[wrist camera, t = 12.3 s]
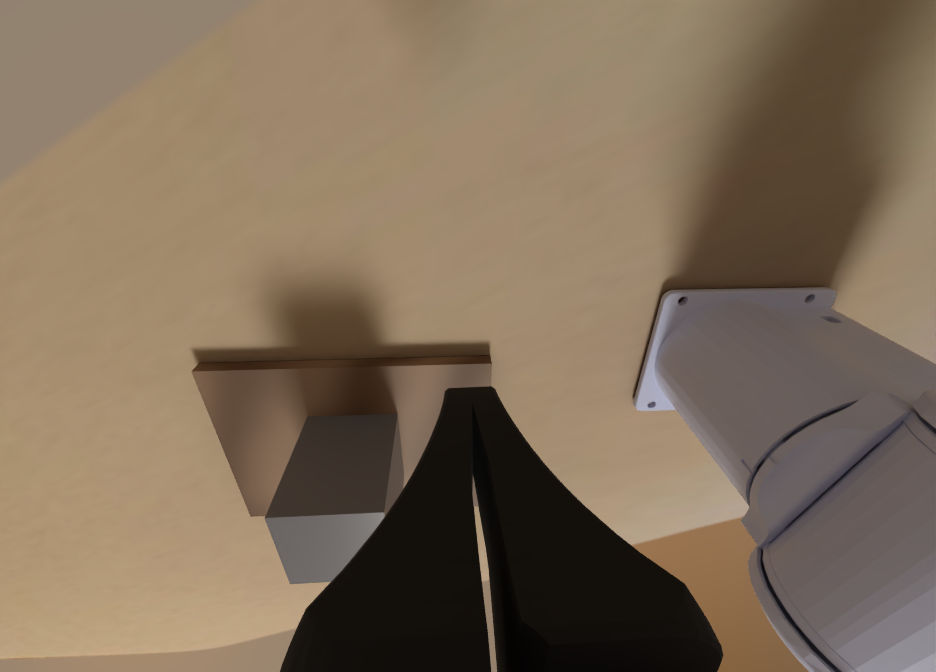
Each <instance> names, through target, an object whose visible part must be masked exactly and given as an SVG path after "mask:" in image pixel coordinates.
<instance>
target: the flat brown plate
mask: <svg viewBox="0 0 936 672" xmlns="http://www.w3.org/2000/svg"><path fill="white" fill-rule="evenodd" d="M491 368H492V363H491V357H490V356H459V357H420V358H380V359H341V360H302V361H263V362H223V363H199V364H198V365H197V366H196V367H195V368H194V369H193V370H192V374H193V377H194V379H195V381H196V384H197V386H198V389H199V391H200V394H201V396H202V399H203V401H204V403H205V406H206V408H207V411H208V413H209V416H210V418H211V421H212V423H213V425H214V428H215V430H216V433H217V435H218V438H219V440H220V443H221V445H222V448H223V450H224V452H225V455H226V457H227V460H228V462H229V465H230V467H231V470H232V472H233V474H234V477H235V479H236V482H237V484H238V487H239V489H240V492H241V494H242V496H243V499H244V501H245V504H246V506H247V509H248V511H249V514H250V516H251V517H252V516H266V514H267V511H268V509H269V507H270V504H271V502H272V499H273V497H274V495H275V492H276V490H277V488H278V485H279V483H280V480H281V478H282V476H283V473H284V471H285V469H286V466H287V464H288V461H289V459H290V457H291V454H292V452H293V450H294V447H295V445H296V442H297V440H298V438H299V435H300V433H301V431H302V428H303V426H304V423H305V421H306V419H307V417H315V416H344V415H372V414H398V421H399V430H400V439H401V449H402V458H403V467H404V484H403V489H404V487H405V485H406V484H407V482H408V480H409V479H410V477H411V475H412V473H413V472H414V470H415V468H416V466H417V464H418V462H419V460H420V458H421V456H422V454H423V452H424V450H425V448H426V446H427V444H428V442H429V440H430V437H431V435H432V432H433V430H434V427H435V425H436V422H437V420H438V417H439V414H440V411H441V408H442V404H443V399H444V392H445V391H446V390H447V389H448V388H463V387H485V386H491ZM472 494H473V505H474V506H478V500H477V495H476V489H475V483H474V477H473V492H472Z"/></svg>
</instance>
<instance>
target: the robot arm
mask: <svg viewBox="0 0 936 672" xmlns="http://www.w3.org/2000/svg"><path fill="white" fill-rule="evenodd" d="M808 295H809V296H808ZM807 296H808V297H807ZM836 296H837V293H836V291H835V290H833V289H831V288H828V287H812V288H753V289H695V290H670V291H668V292H666V293H665V294H664V295H663V296H662V298H661V302H660V306H659V309H658V313H657V317H656V320H655V324H654V328H653V332H652V335H651V339H650V343H649V346H648V350H647V354H646V357H645V361H644V365H643V368H642V372H641V376H640V379H639V383H638V387H637V391H636V394H635V398H634V402H633V404H634V406H635V408H636V409H637V410H639V411H655V410H677V412H678V413H679V414H680V416H681V417H682V418H683V420H684V421H685V422H686V424H687V425H688V426H689V428H690V429H691V430H692V431H693V433H694V434H695V435H696V437H697V438H698V439H699V441H700V442H701V443H702V445H703V446H704V447H705V449H706V450H707V451H708V453H709V454H710V455H711V457H712V458H713V459H714V460H715V462H716V463H717V464H718V466H719V467H720V468H721V470H722V471H723V472H724V474H725V475H726V476H727V478H728V479H729V480H730V482H731V483H732V484H733V486H734V487H735V488H736V489H737V491H738V492H739V493H740V495H741V496H742V497H743V499H744V500H745V501H746V503H747V504H748V505H749V510H748V511H747V513H746V514H745V516H744V517H743V518H742V519H741V522H742V524H743V525H744V527H745V528H746V529H747V531H748V532H749V534H750V535H751V536H752V538H753V539H754V540H755V542H756V543H757V545H758V546H756V547H755V548H754V550H753V551H752V552H751V554H750V558H749V561H748V566H749V575H750V579H751V583H752V586H753V588H754V591H755V593H756V596H757V598H758V600H759V602H760V604H761V606H762V608H763V610H764V612H765V614H766V616H767V618H768V620H769V621H770V623H771V625H772V626H773V628H774V629H775V631H776V632H777V634H778V635H779V637H780V638H781V639H782V641H783V642H784V643H785V645H786V646H787V647H788V648H789V649H790V651H791V652H792V653H793V654H794V655H795V657H796V658H797V659H798V660H799V661H800V662H801V663H802V665H803V666H804V667H805V668H806V669H807V670H808V671H809V672H936V364H934V363H932V362H931V361H929V360H927V359H925V358H923V357H921V356H920V355H918V354H916V353H914V352H912V351H910V350H908V349H906V348H905V347H903V346H901V345H899V344H897V343H895V342H893V341H891V340H890V339H888V338H886V337H884V336H882V335H880V334H878V333H876V332H875V331H873V330H871V329H869V328H867V327H865V326H863V325H861V324H860V323H858V322H856V321H854V320H852V319H850V318H848V317H846V316H845V315H843V314H841V313H839V312H837V311H835V310H833V309H832V308H831V307H832V305H833V303H834V301H835V299H836ZM681 297H684V299H683V300H682V301H681V302H678V300H679V299H680V298H681ZM806 297H807V298H806ZM805 298H806V299H805ZM650 402H652V403H650ZM648 403H650V404H648ZM473 477H474V483H475V489H476V495H477V500H478V506H479V512H480V517H481V523H482V529H483V534H484V540H485V546H486V552H487V560H488V567H489V579H490V590H491V602H492V613H493V624H494V636H495V649H496V661H497V672H717V670H718V669H719V666H720V663H721V661H722V658H723V652H722V647H721V645H720V643H719V641H718V639H717V637H716V635H715V633H714V631H713V629H712V627H711V625H710V623H709V621H708V620H707V618H706V616H705V615H704V613H703V612H702V610H701V608H700V607H699V605H698V604H697V602H696V601H695V599H694V597H693V596H692V594H691V593H690V591H689V590H688V588H687V587H686V585H685V584H684V583H683V582H681V581H680V580H679V579H677V578H676V577H674V576H673V575H671V574H670V573H668V572H667V571H666V570H664V569H663V568H661V567H660V566H658V565H657V564H656V563H654V562H653V561H651V560H650V559H649V558H647V557H646V556H644V555H643V554H641V553H640V552H639V551H637V550H636V549H635V548H634V547H632V546H631V545H630V544H629V543H627V542H626V541H625V540H624V539H622V538H621V537H620V536H618V535H617V534H616V533H615V532H614V531H613V530H611V529H610V528H609V527H608V526H607V525H606V524H605V523H603V522H602V521H601V520H600V519H599V518H598V517H597V516H595V515H594V514H593V513H592V512H591V511H590V510H589V509H588V508H586V507H585V506H584V505H583V504H582V503H581V502H580V501H579V500H578V499H577V498H576V497H575V496H574V495H573V494H572V493H571V492H570V491H569V490H568V489H567V488H566V487H565V486H564V485H563V484H562V483H561V482H560V481H559V480H558V479H557V477H556V476H555V475H554V474H553V473H552V472H551V471H550V470H549V468H548V467H547V466H546V465H545V464H544V463H543V461H542V460H541V459H540V458H539V456H538V455H537V454H536V453H535V451H534V450H533V449H532V448H531V446H530V445H529V444H528V442H527V441H526V439H525V438H524V437H523V435H522V434H521V432H520V431H519V429H518V428H517V427H516V425H515V424H514V422H513V421H512V419H511V417H510V416H509V414H508V413H507V411H506V409H505V408H504V406H503V404H502V402H501V400H500V398H499V396H498V394H497V392H496V390H495V389H494V388H493V387H492V386H485V387H463V388H448V389H447V390H446V391H445V392H444V399H443V404H442V408H441V411H440V414H439V417H438V420H437V422H436V425H435V427H434V430H433V432H432V435H431V437H430V440H429V442H428V444H427V446H426V448H425V450H424V452H423V454H422V456H421V458H420V460H419V462H418V464H417V466H416V468H415V470H414V472H413V473H412V475H411V477H410V479H409V480H408V482H407V484H406V485H405V487H404V489H403V490H402V492H401V493H400V495H399V497H398V498H397V500H396V501H395V502H394V504H393V505H392V507H391V508H390V510H389V511H388V513H387V514H386V516H385V517H384V519H383V520H382V521H381V523H380V524H379V525H378V527H377V528H376V529H375V531H374V532H373V533H372V534H371V536H370V537H369V538H368V539H367V541H366V542H365V543H364V544H363V546H362V547H361V548H360V549H359V551H358V552H357V553H356V554H355V555H354V557H353V558H352V559H351V560H350V562H349V563H348V564H347V565H346V566H345V567H344V568H343V570H342V571H341V572H340V573H339V574H338V575H337V576H336V577H335V578H334V579H333V580H332V581H331V583H330V584H329V585H328V586H327V587H326V588H325V589H324V590H323V591H322V592H321V593H320V594H319V595H318V597H317V598H316V599H315V600H314V601H313V602H312V603H311V604H310V605H309V606H308V607H307V609H306V610H305V612H304V614H303V616H302V618H301V621H300V623H299V625H298V627H297V629H296V631H295V634H294V636H293V639H292V641H291V643H290V646H289V648H288V651H287V653H286V656H285V659H284V662H283V664H282V667H281V670H280V672H491V664H490V653H489V642H488V632H487V631H488V630H487V622H486V614H485V606H484V597H483V589H482V580H481V571H480V562H479V553H478V544H477V534H476V525H475V515H474V505H473V494H472V492H473Z"/></svg>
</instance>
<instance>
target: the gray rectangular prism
mask: <svg viewBox="0 0 936 672" xmlns="http://www.w3.org/2000/svg"><path fill="white" fill-rule="evenodd" d="M403 484H404V467H403V458H402V449H401V439H400V430H399V421H398V414H372V415H344V416H315V417H307V419H306V421H305V423H304V426H303V428H302V431H301V433H300V435H299V438H298V440H297V442H296V445H295V447H294V450H293V452H292V454H291V457H290V459H289V461H288V464H287V466H286V469H285V471H284V473H283V476H282V478H281V480H280V483H279V485H278V488H277V490H276V492H275V495H274V497H273V499H272V502H271V504H270V507H269V509H268V511H267V514H266V516H265V520H266V523H267V526H268V528H269V531H270V533H271V536H272V538H273V541H274V544H275V546H276V549H277V551H278V554H279V556H280V559H281V562H282V564H283V567H284V569H285V572H286V575H287V577H288V580H289V582H290V584H301V583H318V582H331V581H332V580H333V579H334V578H335V577H336V576H337V575H338V574H339V573H340V572H341V571H342V570H343V568H344V567H345V566H346V565H347V564H348V563H349V562H350V560H351V559H352V558H353V557H354V555H355V554H356V553H357V552H358V551H359V549H360V548H361V547H362V546H363V544H364V543H365V542H366V541H367V539H368V538H369V537H370V536H371V534H372V533H373V532H374V531H375V529H376V528H377V527H378V525H379V524H380V523H381V521H382V520H383V519H384V517H385V516H386V514H387V513H388V511H389V510H390V508H391V507H392V505H393V504H394V502H395V501H396V500H397V498H398V497H399V495H400V493H401V492H402V490H403Z"/></svg>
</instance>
